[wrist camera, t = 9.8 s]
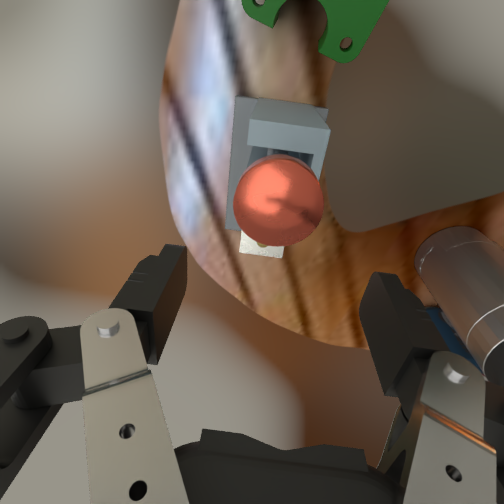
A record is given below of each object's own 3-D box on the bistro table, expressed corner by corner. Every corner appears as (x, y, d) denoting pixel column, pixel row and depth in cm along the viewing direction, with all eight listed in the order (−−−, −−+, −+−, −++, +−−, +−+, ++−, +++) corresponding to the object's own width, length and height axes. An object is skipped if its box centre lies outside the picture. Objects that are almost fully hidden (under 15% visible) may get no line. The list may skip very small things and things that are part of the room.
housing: (287, 198, 38) (289, 225, 32) (281, 233, 41) (281, 263, 35) (248, 193, 38) (242, 218, 32) (244, 228, 41) (238, 258, 35)
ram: (310, 122, 27) (334, 169, 16) (299, 177, 30) (312, 251, 18) (254, 114, 27) (237, 156, 16) (247, 170, 30) (229, 240, 18)
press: (327, 106, 34) (354, 133, 22) (298, 234, 42) (306, 303, 30) (236, 94, 34) (214, 113, 22) (226, 224, 42) (206, 289, 30)
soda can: (401, 336, 51) (432, 404, 41) (406, 304, 47) (441, 371, 37) (446, 334, 50) (489, 403, 40) (454, 301, 47) (504, 369, 36)
